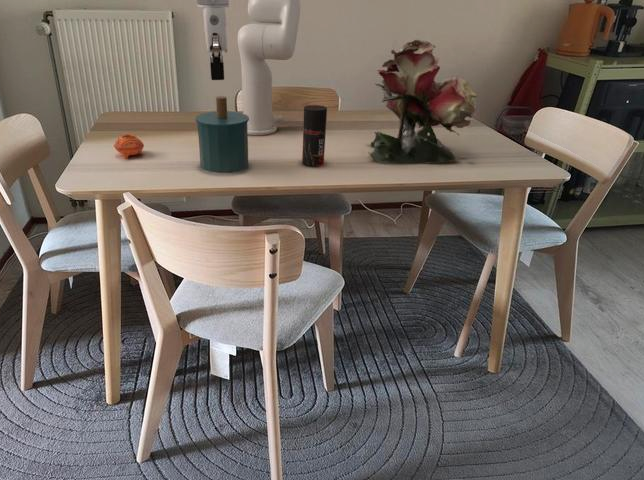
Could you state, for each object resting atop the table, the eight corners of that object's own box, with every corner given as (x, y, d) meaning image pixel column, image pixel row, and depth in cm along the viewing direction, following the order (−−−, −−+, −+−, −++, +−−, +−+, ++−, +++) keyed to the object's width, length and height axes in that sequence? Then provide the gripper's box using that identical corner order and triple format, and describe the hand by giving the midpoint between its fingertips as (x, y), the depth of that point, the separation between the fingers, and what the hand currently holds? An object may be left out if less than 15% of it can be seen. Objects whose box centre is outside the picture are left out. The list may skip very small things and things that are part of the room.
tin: (246, 158, 139) (245, 113, 133) (249, 174, 129) (248, 125, 122) (201, 159, 138) (198, 113, 132) (200, 175, 127) (196, 126, 121)
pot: (107, 157, 137) (108, 132, 135) (130, 157, 144) (130, 133, 142) (127, 162, 133) (127, 136, 131) (149, 161, 140) (150, 136, 138)
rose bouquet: (476, 164, 138) (502, 46, 123) (372, 165, 136) (386, 45, 121) (444, 137, 160) (462, 35, 145) (354, 138, 158) (364, 34, 143)
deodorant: (317, 168, 133) (320, 111, 125) (298, 164, 136) (299, 108, 128) (327, 162, 137) (331, 107, 130) (308, 158, 140) (311, 104, 132)
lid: (247, 115, 134) (247, 91, 131) (250, 128, 122) (250, 103, 119) (196, 115, 132) (194, 91, 129) (194, 129, 121) (192, 103, 118)
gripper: (230, 2, 111) (233, 82, 120) (227, -4, 125) (231, 69, 135) (196, 2, 110) (202, 83, 119) (197, -4, 125) (203, 69, 134)
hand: (217, 75), depth 127 cm, fingers open, 9 cm apart
